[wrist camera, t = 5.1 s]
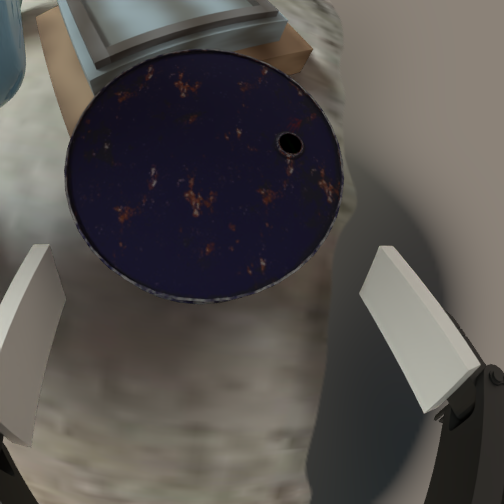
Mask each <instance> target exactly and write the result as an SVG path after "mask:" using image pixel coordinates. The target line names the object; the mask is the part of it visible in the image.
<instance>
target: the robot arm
mask: <svg viewBox="0 0 504 504" xmlns="http://www.w3.org/2000/svg"><path fill="white" fill-rule="evenodd" d="M25 68H26V54H25V44H24V36H23V27H22V19H21V10H20V2H19V0H0V107H2V106H3V105H4V104H6V103H7V102H8V101H9V100H10V99H11V98H12V97H13V96H14V95H15V94H16V92H17V91H18V89H19V88H20V86H21V84H22V81H23V78H24V75H25ZM359 295H360V296H361V298H362V300H363V301H364V303H365V305H366V306H367V308H368V310H369V312H370V313H371V315H372V317H373V318H374V320H375V322H376V324H377V325H378V327H379V329H380V331H381V332H382V334H383V336H384V338H385V340H386V341H387V343H388V345H389V347H390V349H391V350H392V352H393V354H394V356H395V358H396V360H397V362H398V363H399V365H400V367H401V369H402V371H403V373H404V374H405V377H406V379H407V380H408V382H409V384H410V386H411V388H412V390H413V392H414V394H415V396H416V398H417V400H418V402H419V404H420V406H421V408H422V410H423V412H424V413H426V412H429V411H431V410H433V409H435V408H438V407H439V406H440V405H441V404H442V403H443V402H444V401H445V400H448V402H449V404H448V405H447V406H445V407H444V408H443V409H442V410H441V411H440V412H439V413H438V414H437V415H436V416H435V418H434V420H437V419H438V418H440V417H441V416H442V415H443V414H444V416H443V417H442V418H441V419H440V420H439V422H441V423H443V425H442V431H441V437H440V442H439V447H438V452H437V457H436V461H435V465H434V470H433V474H432V477H431V481H430V485H429V488H428V492H427V496H426V499H425V502H424V504H504V373H503V371H502V370H501V369H500V368H499V367H497V366H496V365H492V364H490V365H487V366H486V364H485V363H484V362H483V360H482V359H481V357H480V356H479V354H478V353H477V351H476V349H475V348H474V346H473V345H472V343H471V342H470V341H469V339H468V338H467V337H466V336H465V333H464V332H463V331H462V329H460V326H459V325H458V323H457V322H456V320H455V319H454V318H453V317H452V316H451V315H450V314H449V313H448V312H447V311H445V310H444V309H443V308H442V307H441V306H440V304H439V303H438V302H437V301H436V299H435V298H434V297H433V295H432V294H431V293H430V291H429V290H428V289H427V287H426V286H425V285H424V283H423V282H422V281H421V280H420V278H419V277H418V276H417V275H416V273H415V272H414V271H413V270H412V269H411V267H410V266H409V265H408V263H407V262H406V261H405V260H404V259H403V257H402V256H401V255H400V254H399V253H398V251H397V250H396V249H395V248H394V247H393V246H379V248H378V251H377V253H376V256H375V258H374V260H373V263H372V265H371V268H370V270H369V272H368V275H367V277H366V279H365V281H364V284H363V286H362V288H361V290H360V293H359ZM65 302H66V296H65V293H64V290H63V287H62V284H61V281H60V278H59V275H58V272H57V268H56V265H55V261H54V258H53V254H52V251H51V247H50V244H33V246H32V248H31V249H30V251H29V253H28V254H27V256H26V258H25V259H24V261H23V263H22V264H21V266H20V268H19V270H18V272H17V273H16V275H15V277H14V279H13V281H12V283H11V284H10V286H9V288H8V290H7V292H6V294H5V296H4V298H3V300H2V302H1V304H0V504H38V502H37V501H36V499H35V498H34V496H33V494H32V493H31V491H30V490H29V488H28V486H27V485H26V483H25V481H24V480H23V478H22V476H21V474H20V473H19V471H18V469H17V467H16V465H15V463H14V461H13V460H12V458H11V456H10V454H9V452H8V450H7V448H6V446H5V445H4V443H3V436H5V437H6V438H7V439H8V440H10V441H11V442H12V443H16V444H19V445H23V446H27V447H31V446H32V438H33V431H34V424H35V418H36V412H37V407H38V401H39V396H40V391H41V387H42V382H43V378H44V374H45V369H46V365H47V361H48V358H49V354H50V350H51V346H52V343H53V339H54V336H55V333H56V329H57V326H58V323H59V320H60V317H61V313H62V310H63V307H64V305H65Z"/></svg>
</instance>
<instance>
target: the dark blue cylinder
mask: <svg viewBox="0 0 504 504" xmlns="http://www.w3.org/2000/svg"><path fill="white" fill-rule="evenodd" d="M64 173H65V192H66V196H67V201H68V205H69V209H70V212H71V215H72V217H73V220H74V222H75V224H76V226H77V229H78V231H79V233H80V234H81V236H82V237H83V239H84V240H85V242H86V243H87V245H88V246H89V247H90V249H91V250H92V251H93V253H94V254H95V255H96V256H97V257H98V258H99V259H100V260H101V261H102V262H103V263H104V264H105V265H106V266H107V267H108V268H110V269H111V270H112V271H114V272H115V273H117V274H118V275H120V276H121V277H123V278H124V279H125V280H127V281H128V282H130V283H132V284H134V285H135V286H137V287H138V288H140V289H142V290H144V291H146V292H148V293H150V294H153V295H155V296H157V297H160V298H163V299H167V300H171V301H175V302H179V303H190V304H211V303H221V302H226V301H230V300H233V299H237V298H241V297H244V296H248V295H251V294H255V293H258V292H260V291H262V290H265V289H267V288H269V287H271V286H274V285H276V284H278V283H280V282H281V281H283V280H284V279H286V278H287V277H289V276H290V275H292V274H293V273H295V272H296V271H298V270H299V269H300V268H301V267H302V266H303V265H304V264H305V263H306V262H307V261H308V260H309V259H310V258H311V257H312V256H313V255H314V254H315V253H316V252H317V250H318V249H319V248H320V246H321V245H322V244H323V242H324V241H325V239H326V238H327V236H328V234H329V232H330V230H331V228H332V226H333V224H334V222H335V220H336V218H337V214H338V211H339V208H340V204H341V201H342V193H343V184H344V174H343V160H342V156H341V151H340V147H339V143H338V140H337V138H336V135H335V133H334V130H333V128H332V126H331V124H330V122H329V120H328V118H327V117H326V115H325V113H324V112H323V110H322V109H321V107H320V106H319V105H318V104H317V102H316V101H315V100H314V98H313V97H312V96H311V95H310V94H309V93H308V92H307V91H306V90H305V89H304V88H303V87H302V86H301V85H300V84H299V83H297V82H296V81H295V80H293V79H292V78H291V77H289V76H288V75H287V74H285V73H284V72H282V71H280V70H279V69H277V68H275V67H273V66H271V65H270V64H268V63H265V62H263V61H260V60H258V59H256V58H253V57H250V56H247V55H243V54H239V53H236V52H231V51H224V50H217V49H189V50H180V51H174V52H170V53H166V54H162V55H158V56H155V57H153V58H150V59H147V60H145V61H142V62H140V63H138V64H136V65H134V66H132V67H131V68H129V69H127V70H125V71H123V72H122V73H121V74H119V75H118V76H117V77H115V78H114V79H113V80H111V81H110V82H109V83H107V84H106V85H105V86H104V87H103V88H102V89H101V90H100V91H99V92H98V93H97V94H96V95H95V96H94V98H93V99H92V100H91V102H90V103H89V104H88V106H87V107H86V108H85V110H84V111H83V113H82V114H81V116H80V118H79V120H78V122H77V124H76V126H75V128H74V130H73V133H72V136H71V139H70V142H69V145H68V148H67V154H66V161H65V168H64Z"/></svg>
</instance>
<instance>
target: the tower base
mask: <svg viewBox="0 0 504 504" xmlns="http://www.w3.org/2000/svg"><path fill="white" fill-rule="evenodd" d="M57 2H58V5H59V6H56V7H54V8H52V9H50V10H48V11H46V12H44V13H42V14H41V15H39V16H37V17H36V22H37V26H38V31H39V36H40V40H41V44H42V48H43V52H44V56H45V60H46V64H47V68H48V71H49V75H50V78H51V82H52V85H53V88H54V92H55V95H56V98H57V101H58V104H59V107H60V110H61V113H62V116H63V119H64V122H65V125H66V127H67V130H68V133H69V136H70V138H71V136H72V133H73V130H74V128H75V126H76V124H77V122H78V120H79V118H80V116H81V114H82V113H83V111H84V110H85V108H86V107H87V106H88V104H89V103H90V102H91V100H92V99H93V98H94V96H95V95H96V94H97V93H98V92H99V91H100V90H101V89H102V88H103V87H104V86H105V85H106V84H107V83H109V82H110V81H111V80H113V79H114V78H115V77H117V76H118V75H119V74H121V73H122V72H123V71H125V70H127V69H129V68H131V67H132V66H134V65H136V64H138V63H140V62H142V61H145V60H147V59H150V58H153V57H155V56H158V55H162V54H166V53H170V52H174V51H180V50H189V49H217V50H224V51H231V52H236V53H239V54H243V55H247V56H250V57H253V58H256V59H258V60H260V61H263V62H265V63H268V64H270V65H271V66H273V67H275V68H277V69H279V70H280V71H282V72H284V73H285V74H287V75H291V74H295V73H299V72H301V70H302V68H303V66H304V64H305V63H306V61H307V59H308V57H309V56H310V54H311V52H312V50H313V48H312V47H311V46H310V45H309V44H308V43H307V42H306V41H305V40H304V39H303V38H302V37H301V36H300V35H299V34H298V33H297V32H296V31H295V30H294V29H293V28H292V27H291V26H290V25H289V24H288V23H287V22H288V20H287V19H286V18H285V17H284V16H283V15H282V14H281V13H280V12H279V10H278V9H277V8H275V7H274V6H273V5H272V4H271V3H270V2H269V1H268V0H57Z"/></svg>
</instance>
